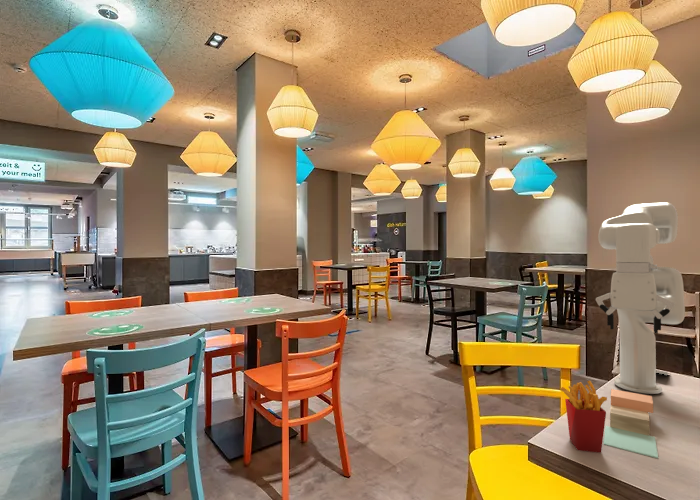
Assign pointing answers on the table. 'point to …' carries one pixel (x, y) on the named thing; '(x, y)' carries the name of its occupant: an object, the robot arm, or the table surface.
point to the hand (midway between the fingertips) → (633, 330)
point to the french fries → (585, 417)
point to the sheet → (630, 420)
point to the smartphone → (662, 372)
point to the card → (632, 400)
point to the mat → (630, 441)
